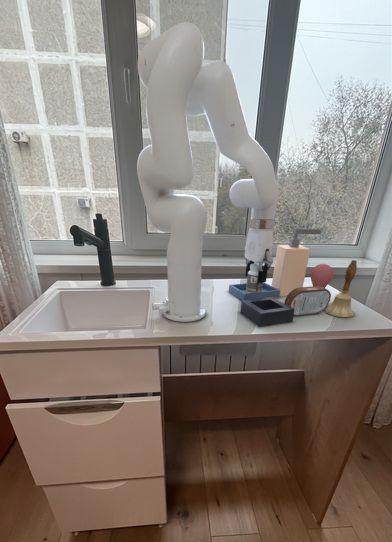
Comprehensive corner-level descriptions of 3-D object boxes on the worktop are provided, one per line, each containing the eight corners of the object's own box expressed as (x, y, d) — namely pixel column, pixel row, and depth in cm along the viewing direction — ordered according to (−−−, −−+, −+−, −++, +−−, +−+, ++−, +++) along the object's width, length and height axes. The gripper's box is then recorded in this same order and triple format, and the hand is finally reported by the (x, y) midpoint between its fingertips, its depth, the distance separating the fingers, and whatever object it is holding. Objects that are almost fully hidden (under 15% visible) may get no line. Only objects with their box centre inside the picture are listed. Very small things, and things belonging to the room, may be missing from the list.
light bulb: (309, 294, 105) (316, 260, 100) (329, 298, 102) (338, 263, 96) (303, 299, 100) (310, 264, 94) (324, 303, 97) (333, 267, 91)
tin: (321, 309, 91) (328, 284, 87) (328, 313, 89) (335, 286, 85) (281, 314, 87) (286, 287, 83) (287, 318, 84) (292, 291, 80)
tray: (243, 301, 97) (244, 294, 96) (228, 291, 106) (229, 284, 105) (279, 297, 102) (280, 290, 100) (261, 288, 111) (262, 281, 110)
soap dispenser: (278, 295, 103) (289, 230, 92) (270, 288, 110) (280, 227, 100) (312, 295, 104) (326, 230, 93) (302, 288, 111) (315, 227, 101)
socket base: (259, 327, 79) (261, 313, 77) (240, 312, 88) (241, 300, 86) (292, 322, 82) (294, 309, 80) (270, 308, 91) (272, 296, 89)
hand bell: (330, 306, 95) (343, 256, 87) (357, 312, 90) (373, 260, 82) (320, 312, 89) (333, 260, 82) (348, 320, 84) (365, 265, 77)
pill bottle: (260, 296, 100) (264, 267, 96) (244, 294, 102) (247, 265, 97) (262, 291, 105) (266, 263, 100) (246, 289, 107) (249, 262, 102)
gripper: (238, 222, 98) (234, 273, 107) (267, 228, 84) (259, 287, 93) (257, 222, 101) (251, 272, 109) (288, 227, 87) (278, 285, 95)
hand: (255, 278), depth 101 cm, fingers open, 7 cm apart
